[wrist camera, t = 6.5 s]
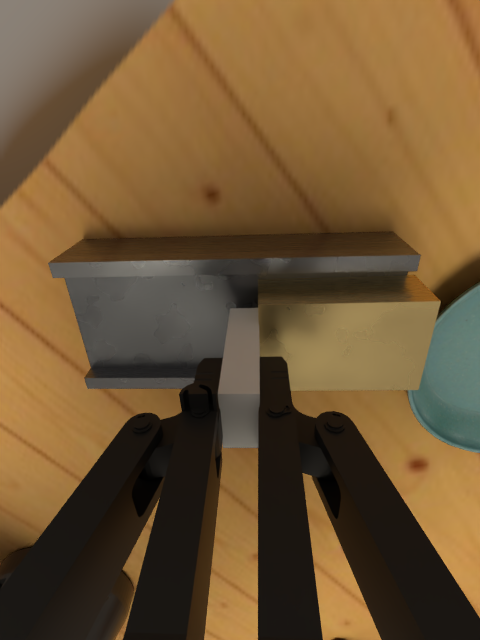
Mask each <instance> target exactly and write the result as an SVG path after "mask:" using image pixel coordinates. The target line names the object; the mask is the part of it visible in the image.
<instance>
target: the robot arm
mask: <svg viewBox="0 0 480 640" xmlns="http://www.w3.org/2000/svg"><path fill="white" fill-rule="evenodd" d="M179 396H180V402H181V408H182V412H181V413H180V414H178V415H176V416H173V417H170V418H167V419H163V420H160V418H159V417H158V416H157V415H155V414H152V413H142V414H138V415H136V416H134V417H132V418H130V419H129V420H128V421H127V422H126V423H125V425H124V426H123V427H122V429H121V430H120V431H119V433H118V434H117V435H116V437H115V438H114V439H113V441H112V442H111V443H110V445H109V446H108V447H107V449H106V450H105V451H104V453H103V454H102V455H101V457H100V458H99V459H98V460H97V462H96V463H95V464H94V466H93V467H92V468H91V470H90V471H89V472H88V474H87V475H86V476H85V478H84V479H83V480H82V482H81V483H80V484H79V486H78V487H77V488H76V490H75V491H74V492H73V494H72V495H71V496H70V498H69V499H68V500H67V502H66V503H65V504H64V506H63V507H62V508H61V510H60V511H59V512H58V514H57V515H56V516H55V517H54V519H53V520H52V521H51V523H50V524H49V525H48V527H47V528H46V529H45V531H44V532H43V533H42V535H41V536H40V537H39V539H38V540H37V541H36V543H35V544H34V545H33V547H32V548H26V549H22V550H19V551H16V552H14V553H12V554H10V555H9V556H7V557H6V558H5V559H4V561H3V562H2V564H1V565H0V640H115V638H116V637H117V635H118V633H119V631H120V629H121V627H122V626H123V624H124V622H125V620H126V618H127V615H128V612H129V608H130V604H131V600H132V596H133V587H132V584H131V582H130V580H129V579H128V578H127V576H126V575H125V574H124V573H123V572H122V569H123V567H124V565H125V563H126V561H127V559H128V557H129V555H130V553H131V551H132V549H133V547H134V546H135V544H136V542H137V540H138V538H139V536H140V534H141V532H142V530H143V528H144V526H145V524H146V522H147V521H148V519H149V517H150V515H151V513H152V511H153V509H154V507H155V505H156V503H157V501H158V499H159V497H160V499H159V503H158V507H157V511H156V514H155V518H154V522H153V526H152V530H151V534H150V538H149V542H148V546H147V550H146V553H145V557H144V561H143V565H142V569H141V573H140V577H139V581H138V585H137V588H136V592H135V596H134V600H133V604H132V608H131V612H130V616H129V620H128V623H127V627H126V631H125V635H124V638H123V640H204V634H205V624H206V614H207V605H208V595H209V585H210V575H211V566H212V556H213V546H214V536H215V526H216V517H217V507H218V497H219V487H220V478H221V468H222V452H221V450H222V443H223V448H258V640H323V638H322V630H321V621H320V613H319V605H318V597H317V589H316V581H315V572H314V564H313V556H312V548H311V540H310V532H309V523H308V515H307V507H306V499H305V491H304V483H303V474H302V473H305V474H308V475H311V476H312V479H313V481H314V483H315V486H316V488H317V490H318V493H319V495H320V497H321V500H322V502H323V504H324V507H325V509H326V511H327V514H328V516H329V518H330V521H331V523H332V525H333V528H334V530H335V532H336V535H337V537H338V539H339V542H340V544H341V546H342V549H343V551H344V553H345V556H346V558H347V560H348V563H349V565H350V567H351V570H352V572H353V574H354V577H355V579H356V581H357V584H358V586H359V588H360V591H361V593H362V595H363V598H364V600H365V602H366V604H367V607H368V609H369V611H370V614H371V616H372V618H373V621H374V623H375V625H376V628H377V630H378V632H379V635H380V637H381V639H382V640H480V618H479V616H478V615H477V613H476V611H475V610H474V608H473V607H472V605H471V604H470V602H469V601H468V599H467V598H466V596H465V594H464V593H463V591H462V590H461V588H460V587H459V585H458V584H457V582H456V581H455V579H454V577H453V576H452V574H451V573H450V571H449V570H448V568H447V567H446V565H445V564H444V562H443V560H442V559H441V557H440V556H439V554H438V553H437V551H436V550H435V548H434V547H433V545H432V543H431V542H430V540H429V539H428V537H427V536H426V534H425V533H424V531H423V530H422V528H421V526H420V525H419V523H418V522H417V520H416V519H415V517H414V516H413V514H412V513H411V511H410V509H409V508H408V506H407V505H406V503H405V502H404V500H403V499H402V497H401V496H400V494H399V492H398V491H397V489H396V488H395V486H394V485H393V483H392V482H391V480H390V479H389V477H388V475H387V474H386V472H385V471H384V469H383V468H382V466H381V465H380V463H379V462H378V460H377V458H376V457H375V455H374V454H373V452H372V451H371V449H370V448H369V446H368V445H367V443H366V441H365V440H364V438H363V437H362V435H361V434H360V432H359V431H358V429H357V428H356V426H355V424H354V423H353V421H352V420H351V419H350V418H349V417H348V416H346V415H344V414H342V413H339V412H335V411H332V412H325V413H322V414H320V415H319V416H318V417H317V418H313V417H309V416H306V415H304V414H302V413H300V412H299V411H297V410H296V409H295V407H294V406H293V404H292V399H291V390H290V382H289V374H288V365H287V362H286V361H285V360H284V359H283V357H282V356H274V357H260V340H259V321H258V308H230V313H229V320H228V327H227V334H226V341H225V347H224V354H223V358H204V359H203V360H202V361H201V362H200V363H199V364H198V367H197V371H196V375H195V380H194V383H192V384H190V385H187V386H186V387H184V388H183V389H182V390H181V392H180V394H179Z"/></svg>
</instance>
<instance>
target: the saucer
mask: <svg viewBox="0 0 480 640" xmlns="http://www.w3.org/2000/svg"><path fill="white" fill-rule="evenodd" d="M407 392H408V398H409V403H410V406H411V409H412V411H413V413H414V415H415V417H416V419H417V420H418V421H419V423H420V424H421V425H422V426H423V427H424V428H425V429H426V430H427V431H428V432H429V433H430V434H432V435H433V436H434V437H436V438H437V439H439V440H441V441H443V442H445V443H447V444H448V445H451V446H454V447H458V448H460V449H463V450H467V451H472V452H477V453H480V282H479V283H477V284H475V285H474V286H472V287H471V288H469V289H468V290H466V291H465V292H464V293H462V294H461V295H460V296H458V297H457V298H456V299H455V300H454V301H452V302H451V303H450V304H449V305H448V306H447V307H446V308H445V309H444V310H443V311H442V312H441V313H440V314H439V315H438V316H437V319H436V323H435V327H434V331H433V334H432V338H431V342H430V346H429V350H428V354H427V358H426V362H425V366H424V370H423V374H422V378H421V382H420V386H419V390H407Z"/></svg>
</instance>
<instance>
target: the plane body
mask: <svg viewBox="0 0 480 640" xmlns="http://www.w3.org/2000/svg"><path fill="white" fill-rule="evenodd" d="M420 256H421V255H420V254H419V253H418V252H416V251H415V250H414V249H413V248H412V247H410V246H409V245H408V244H407V243H406V242H404V241H403V240H402V239H401V238H400V237H398V236H397V235H396V234H395V233H394V232H360V233H320V234H280V235H240V236H200V237H160V238H120V239H82V240H81V241H80V242H78V243H77V244H75V245H74V246H72V247H71V248H69V249H68V250H66V251H65V252H63V253H62V254H61V255H59V256H58V257H56V258H55V259H53V260H52V261H50V262H49V263H48V264H49V267H50V270H51V273H52V277H53V278H65V281H66V285H67V288H68V292H69V295H70V298H71V302H72V305H73V308H74V312H75V315H76V318H77V322H78V325H79V329H80V332H81V335H82V339H83V342H84V345H85V349H86V352H87V355H88V359H89V362H90V366H91V369H90V370H89V372H88V373H87V375H86V376H85V378H84V379H85V382H86V385H87V388H88V389H183V388H184V387H186V386H187V385H190V384H192V383H194V380H195V375H196V371H197V367H198V364H199V363H200V362H201V361H202V360H203V359H204V358H223V354H224V347H225V341H226V334H227V327H228V320H229V313H230V308H258V279H289V278H328V277H367V276H406V275H407V273H408V271H417V269H418V265H419V260H420Z"/></svg>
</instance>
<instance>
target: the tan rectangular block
mask: <svg viewBox="0 0 480 640" xmlns="http://www.w3.org/2000/svg"><path fill="white" fill-rule="evenodd" d="M440 303H441V301H440V300H439V299H438V298H437V297H436V296H435V295H434V294H433V293H432V292H431V291H430V290H429V289H428V288H427V287H426V286H425V285H424V284H423V283H422V282H421V281H420V280H419V279H418V278H417V277H416V276H415V275H406V276H367V277H328V278H289V279H258V321H259V340H260V357H274V356H282V357H283V359H284V360H285V361H286V362H287V365H288V374H289V382H290V390H291V391H345V390H419V386H420V382H421V378H422V374H423V370H424V366H425V362H426V358H427V354H428V350H429V346H430V342H431V338H432V334H433V331H434V327H435V323H436V319H437V315H438V311H439V307H440Z"/></svg>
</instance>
